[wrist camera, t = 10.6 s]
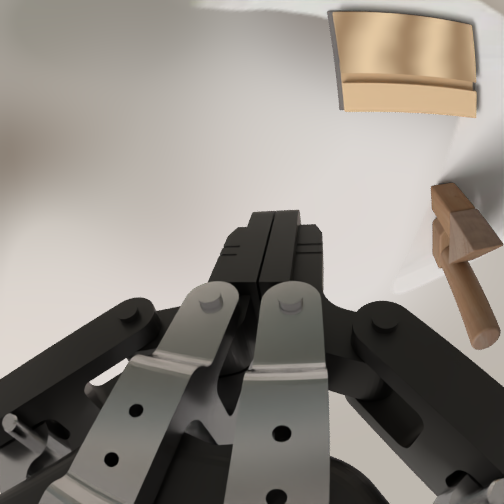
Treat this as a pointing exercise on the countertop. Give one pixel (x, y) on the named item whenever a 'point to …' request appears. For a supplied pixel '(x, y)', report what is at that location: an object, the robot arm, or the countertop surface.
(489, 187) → the countertop surface
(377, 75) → the floor section
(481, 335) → the wooden block
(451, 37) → the board
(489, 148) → the countertop surface
